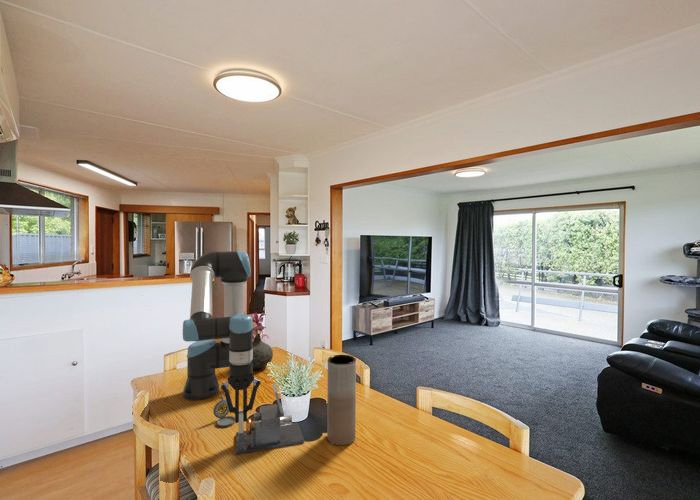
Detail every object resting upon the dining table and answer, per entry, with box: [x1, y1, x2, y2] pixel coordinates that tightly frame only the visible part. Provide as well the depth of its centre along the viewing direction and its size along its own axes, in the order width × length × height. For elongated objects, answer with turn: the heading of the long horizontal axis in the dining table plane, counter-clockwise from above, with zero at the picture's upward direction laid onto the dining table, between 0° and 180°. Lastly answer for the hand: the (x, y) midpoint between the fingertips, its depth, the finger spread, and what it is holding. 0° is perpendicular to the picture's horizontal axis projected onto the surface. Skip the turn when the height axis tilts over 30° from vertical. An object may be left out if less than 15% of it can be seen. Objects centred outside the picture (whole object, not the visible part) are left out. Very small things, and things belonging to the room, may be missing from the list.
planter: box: [326, 354, 357, 446], centre depth 119 cm, size 10×10×28 cm
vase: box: [250, 312, 274, 371], centre depth 186 cm, size 17×18×30 cm
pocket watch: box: [212, 393, 235, 428], centre depth 129 cm, size 8×8×10 cm
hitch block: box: [235, 403, 305, 456], centre depth 118 cm, size 12×22×10 cm, turn 109°
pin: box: [245, 414, 293, 435], centre depth 118 cm, size 5×15×5 cm, turn 109°
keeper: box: [272, 383, 285, 417], centre depth 118 cm, size 8×1×9 cm, turn 19°
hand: (240, 430), depth 115 cm, fingers closed
